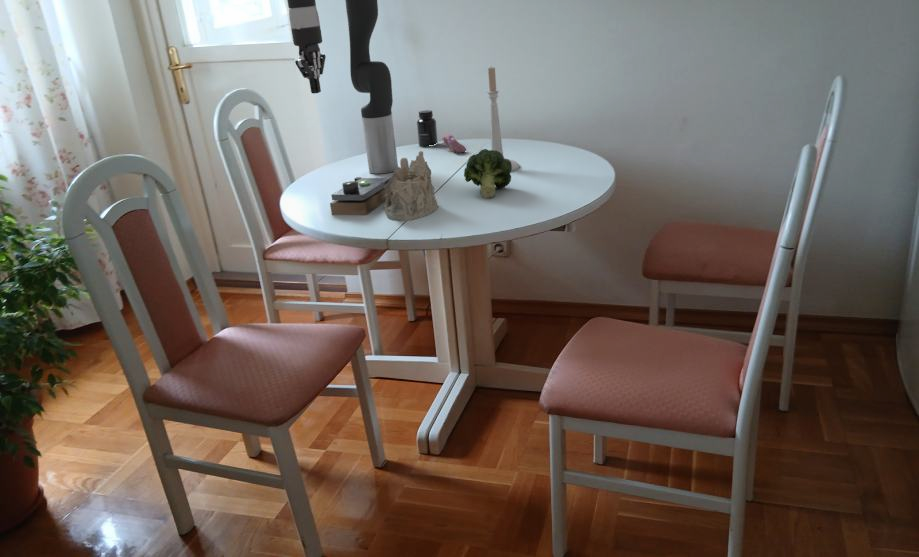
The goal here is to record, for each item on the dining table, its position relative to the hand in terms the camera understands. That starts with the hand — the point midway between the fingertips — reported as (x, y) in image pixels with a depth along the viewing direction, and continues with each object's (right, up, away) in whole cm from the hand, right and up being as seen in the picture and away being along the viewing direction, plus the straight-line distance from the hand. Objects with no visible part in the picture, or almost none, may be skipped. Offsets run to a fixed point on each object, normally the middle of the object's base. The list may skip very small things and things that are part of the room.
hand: (316, 92), depth 200 cm
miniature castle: (+25, -33, -9) cm, 42 cm away
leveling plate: (+13, -27, -1) cm, 30 cm away
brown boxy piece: (+13, -30, 0) cm, 33 cm away
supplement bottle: (+28, -3, +64) cm, 70 cm away
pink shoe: (+37, -7, +51) cm, 63 cm away
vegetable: (+47, -27, 0) cm, 54 cm away
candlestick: (+50, -17, +24) cm, 58 cm away
